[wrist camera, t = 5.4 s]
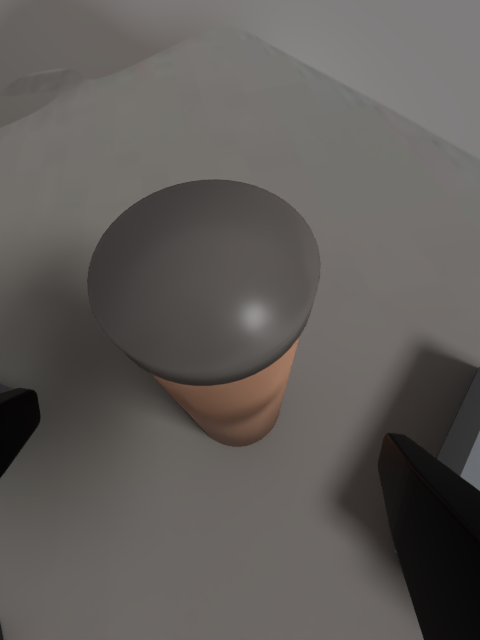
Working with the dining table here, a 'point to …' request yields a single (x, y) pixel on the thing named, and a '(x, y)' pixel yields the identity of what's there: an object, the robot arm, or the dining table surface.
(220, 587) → the dining table surface
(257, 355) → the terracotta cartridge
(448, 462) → the dock unit
